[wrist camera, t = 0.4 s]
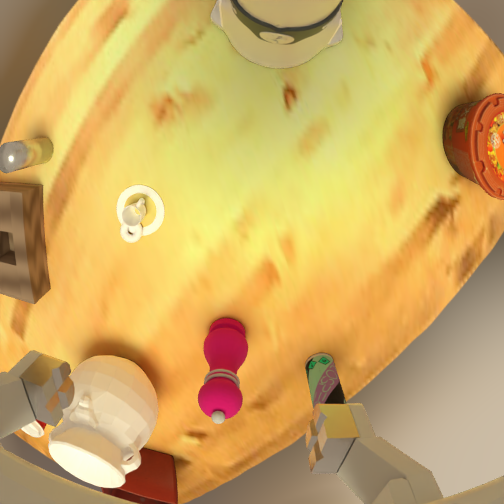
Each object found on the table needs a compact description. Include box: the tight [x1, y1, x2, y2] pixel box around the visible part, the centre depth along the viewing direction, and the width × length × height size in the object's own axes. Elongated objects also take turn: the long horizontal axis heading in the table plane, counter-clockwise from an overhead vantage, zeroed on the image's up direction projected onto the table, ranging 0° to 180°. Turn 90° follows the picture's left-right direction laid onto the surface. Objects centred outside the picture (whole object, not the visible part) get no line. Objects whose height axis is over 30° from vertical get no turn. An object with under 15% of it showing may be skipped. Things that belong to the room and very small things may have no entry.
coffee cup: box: [21, 419, 47, 437], centre depth 55 cm, size 8×8×15 cm
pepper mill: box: [198, 318, 248, 424], centre depth 45 cm, size 7×7×20 cm
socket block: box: [0, 182, 50, 304], centre depth 45 cm, size 20×12×6 cm, turn 171°
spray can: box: [305, 353, 346, 409], centre depth 48 cm, size 6×6×20 cm
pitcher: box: [48, 355, 158, 488], centre depth 47 cm, size 19×18×25 cm
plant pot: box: [101, 447, 178, 504], centre depth 64 cm, size 19×19×17 cm
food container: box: [443, 93, 504, 200], centre depth 36 cm, size 16×16×11 cm
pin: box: [0, 137, 53, 173], centre depth 37 cm, size 4×4×10 cm
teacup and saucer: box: [117, 185, 165, 243], centre depth 45 cm, size 9×8×4 cm
